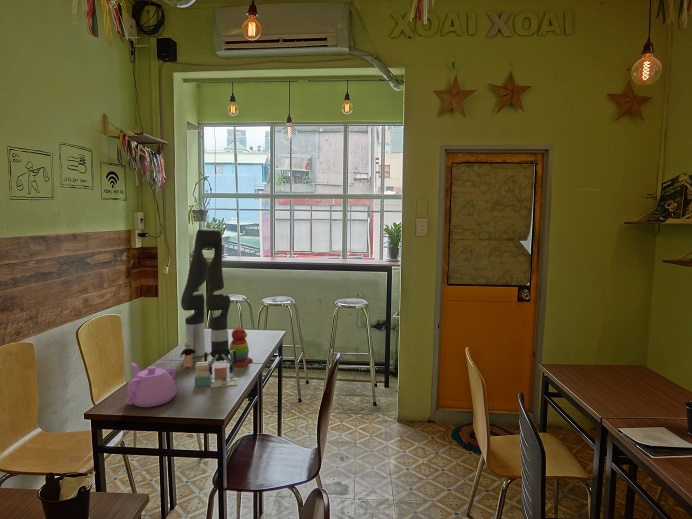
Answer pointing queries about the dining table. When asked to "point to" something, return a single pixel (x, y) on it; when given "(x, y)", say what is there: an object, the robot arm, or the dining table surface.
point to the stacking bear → (240, 348)
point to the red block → (220, 371)
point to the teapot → (151, 386)
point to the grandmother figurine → (188, 355)
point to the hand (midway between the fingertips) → (221, 373)
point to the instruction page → (224, 382)
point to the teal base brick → (203, 380)
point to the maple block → (202, 369)
